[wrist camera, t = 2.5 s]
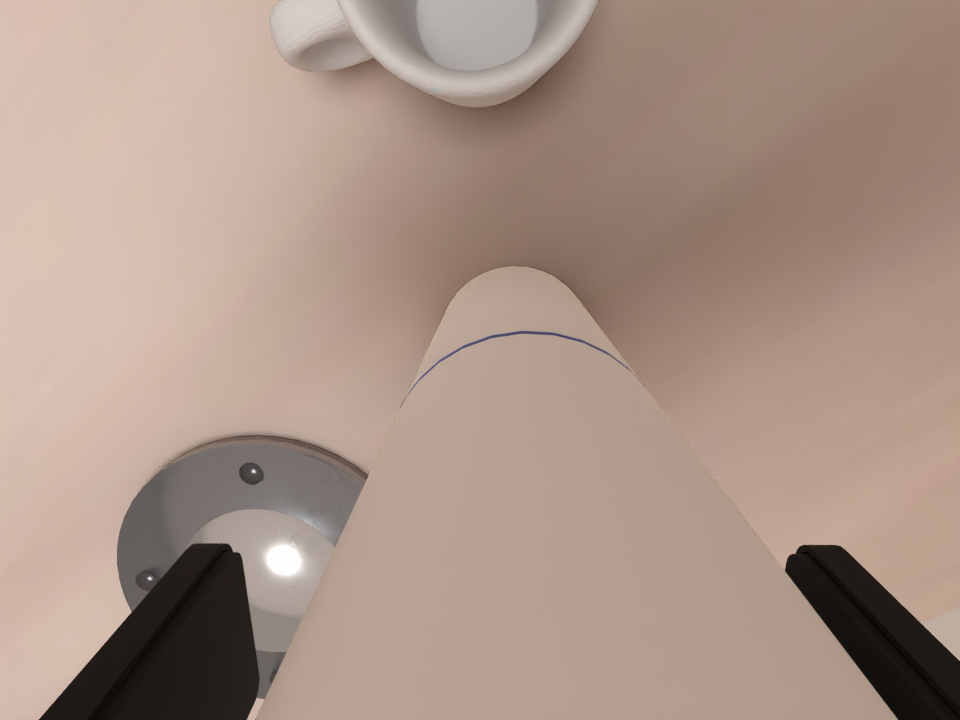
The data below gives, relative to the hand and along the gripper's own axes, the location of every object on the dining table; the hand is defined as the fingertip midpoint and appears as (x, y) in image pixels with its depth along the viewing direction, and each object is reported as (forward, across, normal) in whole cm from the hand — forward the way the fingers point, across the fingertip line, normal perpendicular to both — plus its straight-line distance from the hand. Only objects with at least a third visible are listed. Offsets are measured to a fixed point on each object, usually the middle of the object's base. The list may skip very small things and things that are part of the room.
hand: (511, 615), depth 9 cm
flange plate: (+18, +12, +13) cm, 25 cm away
